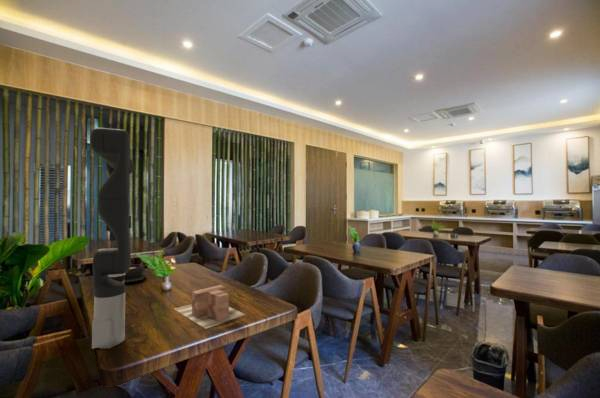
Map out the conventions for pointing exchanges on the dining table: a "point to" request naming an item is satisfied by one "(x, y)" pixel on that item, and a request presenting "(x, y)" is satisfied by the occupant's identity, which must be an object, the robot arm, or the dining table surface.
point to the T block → (211, 302)
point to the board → (207, 320)
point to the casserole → (135, 273)
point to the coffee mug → (118, 277)
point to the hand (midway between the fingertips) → (119, 239)
